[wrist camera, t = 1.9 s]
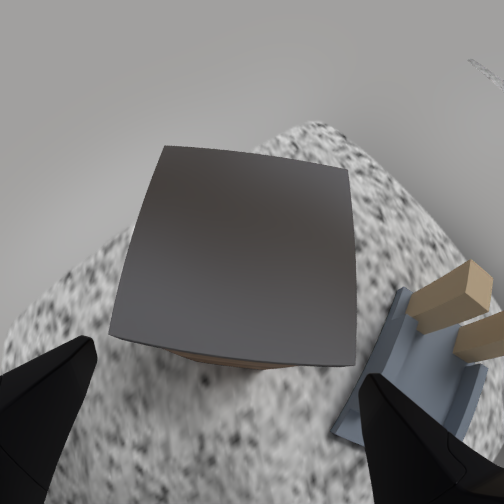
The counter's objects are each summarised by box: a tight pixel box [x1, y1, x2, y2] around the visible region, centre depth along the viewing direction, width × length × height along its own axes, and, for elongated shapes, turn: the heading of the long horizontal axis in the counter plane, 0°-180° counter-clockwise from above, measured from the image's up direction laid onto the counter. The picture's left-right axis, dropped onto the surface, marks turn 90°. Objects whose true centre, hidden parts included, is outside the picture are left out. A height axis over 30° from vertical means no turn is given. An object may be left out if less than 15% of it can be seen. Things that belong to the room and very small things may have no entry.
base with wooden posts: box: [330, 259, 504, 447], centre depth 14 cm, size 12×10×8 cm
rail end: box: [108, 146, 357, 370], centre depth 12 cm, size 5×5×14 cm
